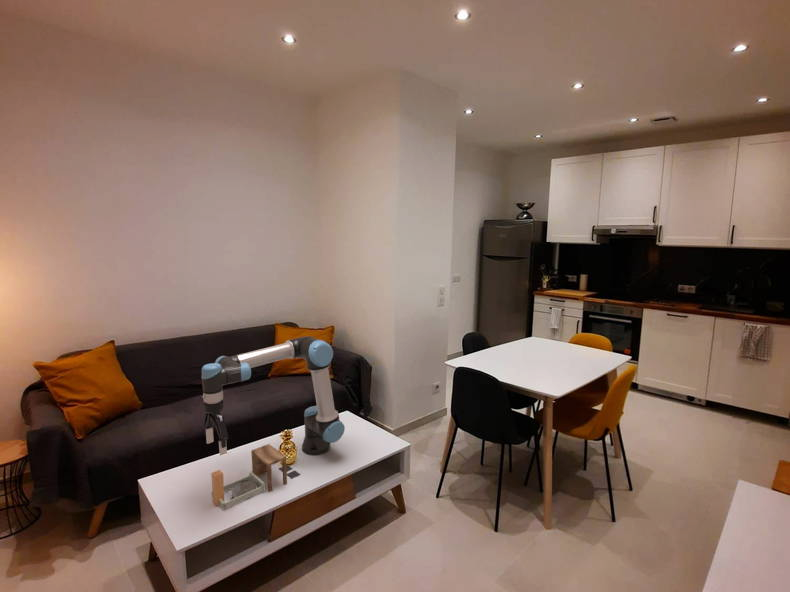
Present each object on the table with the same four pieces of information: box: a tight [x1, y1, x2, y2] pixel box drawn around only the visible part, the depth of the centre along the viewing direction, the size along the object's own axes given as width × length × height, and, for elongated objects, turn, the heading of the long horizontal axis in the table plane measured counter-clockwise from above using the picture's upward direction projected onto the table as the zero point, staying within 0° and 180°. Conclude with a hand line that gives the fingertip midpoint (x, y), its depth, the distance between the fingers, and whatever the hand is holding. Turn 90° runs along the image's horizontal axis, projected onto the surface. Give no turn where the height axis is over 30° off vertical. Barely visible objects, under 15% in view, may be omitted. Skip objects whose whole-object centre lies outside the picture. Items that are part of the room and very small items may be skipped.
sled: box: [210, 469, 265, 510], centre depth 183 cm, size 20×12×14 cm, turn 135°
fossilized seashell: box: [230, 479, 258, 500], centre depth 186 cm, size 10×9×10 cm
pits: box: [278, 465, 301, 480], centre depth 203 cm, size 5×12×1 cm, turn 45°
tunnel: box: [251, 443, 288, 493], centre depth 194 cm, size 9×16×14 cm, turn 45°
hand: (216, 448), depth 176 cm, fingers open, 13 cm apart
